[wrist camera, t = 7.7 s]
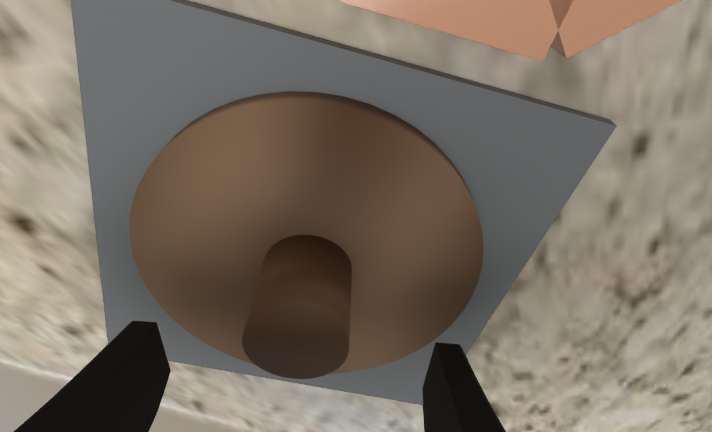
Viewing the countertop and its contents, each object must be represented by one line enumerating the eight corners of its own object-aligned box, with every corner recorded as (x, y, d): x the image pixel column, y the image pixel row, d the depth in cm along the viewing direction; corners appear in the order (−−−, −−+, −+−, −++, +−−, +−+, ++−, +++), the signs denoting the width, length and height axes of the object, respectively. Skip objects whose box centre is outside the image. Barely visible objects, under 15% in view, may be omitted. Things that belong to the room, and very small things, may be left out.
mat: (609, 120, 12) (616, 125, 12) (430, 398, 20) (431, 406, 19) (77, -31, 10) (67, -29, 10) (113, 342, 18) (108, 350, 18)
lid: (523, 110, 11) (583, 184, 8) (440, 365, 18) (456, 461, 15) (101, 71, 11) (-3, 133, 8) (170, 347, 17) (127, 442, 14)
